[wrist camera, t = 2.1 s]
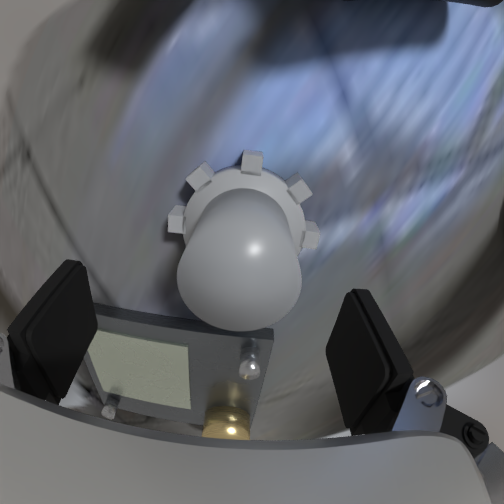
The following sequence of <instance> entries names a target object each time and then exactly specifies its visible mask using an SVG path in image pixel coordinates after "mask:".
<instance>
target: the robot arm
mask: <svg viewBox="0 0 504 504" xmlns="http://www.w3.org/2000/svg"><path fill="white" fill-rule="evenodd" d="M97 329H98V322H97V318H96V314H95V309H94V305H93V300H92V296H91V291H90V286H89V281H88V276H87V270H86V267H85V266H83V264H82V263H81V262H80V261H75V260H65V261H64V262H63V263H62V264H61V265H60V267H59V268H58V269H57V270H56V271H55V272H54V273H53V274H52V275H51V276H50V278H49V279H48V280H47V281H46V282H45V283H44V284H43V285H42V287H41V288H40V289H39V290H38V291H37V292H36V294H35V295H34V296H33V297H32V298H31V300H30V301H29V302H28V303H27V304H26V306H25V307H24V308H23V309H22V311H21V312H20V313H19V314H18V316H17V317H16V318H15V320H14V321H13V322H12V323H11V325H10V326H9V327H8V329H7V330H8V332H9V335H8V337H7V338H6V336H5V335H4V334H2V333H0V504H504V452H503V451H502V450H501V449H499V447H497V446H496V445H495V444H494V443H493V442H491V443H490V444H489V436H488V432H487V430H486V428H485V427H484V426H483V425H482V424H481V423H480V422H478V421H477V420H475V419H473V418H471V417H469V416H467V415H465V414H463V413H462V412H460V411H458V410H456V409H454V408H452V407H450V406H449V405H447V404H446V403H447V395H446V392H445V390H444V388H443V387H442V386H441V385H440V384H439V383H438V382H437V381H435V380H434V379H432V378H429V377H418V378H416V379H415V378H414V376H413V370H412V368H411V366H410V364H409V362H408V360H407V358H406V356H405V354H404V352H403V350H402V348H401V347H400V345H399V343H398V341H397V339H396V337H395V335H394V334H393V332H392V330H391V328H390V326H389V325H388V323H387V321H386V319H385V317H384V316H383V314H382V312H381V310H380V309H379V307H378V305H377V303H376V302H375V300H374V298H373V297H372V295H371V293H370V291H369V290H367V289H352V290H351V292H348V293H347V294H346V295H345V298H344V301H343V304H342V306H341V309H340V312H339V315H338V317H337V320H336V323H335V325H334V328H333V331H332V333H331V336H330V338H329V341H328V343H327V346H326V357H327V360H328V364H329V367H330V371H331V375H332V378H333V382H334V385H335V389H336V393H337V397H338V400H339V404H340V408H341V412H342V416H343V419H344V423H345V426H346V428H350V432H351V435H352V436H350V437H349V436H348V437H338V438H325V439H310V440H282V441H264V440H235V439H220V438H208V437H198V436H190V435H182V434H175V433H168V432H162V431H156V430H151V429H145V428H140V427H136V426H131V425H126V424H122V423H118V422H113V421H109V420H105V419H102V418H98V417H94V416H91V415H87V414H84V413H81V412H77V411H74V410H71V409H68V408H65V407H62V406H59V403H60V400H61V398H62V399H63V398H64V397H65V396H66V394H67V392H68V390H69V388H70V385H71V383H72V381H73V379H74V377H75V375H76V372H77V370H78V368H79V366H80V364H81V362H82V360H83V358H84V356H85V354H86V352H87V350H88V348H89V346H90V344H91V342H92V340H93V338H94V336H95V334H96V332H97ZM45 400H46V401H45ZM362 434H365V435H362ZM354 435H358V436H354Z"/></svg>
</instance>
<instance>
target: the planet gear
mask: <svg viewBox="0 0 504 504" xmlns="http://www.w3.org/2000/svg"><path fill="white" fill-rule="evenodd" d="M262 164H263V152H258V151H250V150H244V152H243V157H242V165H235V166H230V167H226V168H224V169H221V170H219V171H217V172H214V171H213V170H212V169H211V167H210V166H209V165H208V164H207V163H206V162H203V163H202V164H201V165H200V166H199V167H197V168H196V169H195V170H194V171H193V172H191V173H190V175H189V176H188V177H187V178H186V181H187V182H188V183H189V184H190V185H191V186H192V187H193V189H194V190H195V192H194V194H193V195H192V197H191V199H190V200H189V202H188V204H187V206H178V205H175V207H174V208H173V209H172V211H171V212H170V213H169V215H168V232H173V233H182V234H183V237H184V241H185V245H186V248H185V251H184V253H183V255H182V257H181V260H180V262H179V265H178V269H177V285H178V289H179V292H180V295H181V297H182V299H183V301H184V303H185V304H186V305H187V307H188V308H189V309H190V310H191V311H192V312H193V313H194V314H195V315H196V316H197V317H199V318H200V319H201V320H203V321H205V322H206V323H208V324H210V325H212V326H215V327H218V328H221V329H225V330H230V331H252V330H257V329H262V328H264V327H267V326H270V325H272V324H274V323H276V322H277V321H279V320H280V319H282V318H283V317H284V316H285V315H287V313H288V312H289V311H290V310H291V309H292V308H293V306H294V305H295V303H296V301H297V299H298V297H299V294H300V291H301V286H302V276H301V270H300V266H299V262H298V258H297V256H298V254H299V252H300V250H301V248H310V249H317V245H318V241H319V237H320V231H319V229H318V227H317V225H316V223H315V222H313V221H305V218H304V214H303V211H302V208H301V206H300V203H301V202H303V201H304V200H306V199H307V198H309V197H310V196H311V195H313V194H312V192H311V191H310V189H309V188H308V186H307V185H306V183H305V182H304V181H303V179H302V178H301V177H300V175H299V174H298V172H297V173H296V174H294V175H293V176H292V177H290V178H289V179H287V180H286V181H285V180H283V179H282V178H281V177H280V176H278V175H277V174H275V173H274V172H272V171H270V170H268V169H265V168H262Z"/></svg>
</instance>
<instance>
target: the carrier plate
mask: <svg viewBox="0 0 504 504" xmlns="http://www.w3.org/2000/svg"><path fill="white" fill-rule="evenodd" d="M93 305H94V309H95V314H96V318H97V322H98V329H97V332H96V334H95V336H94V338H93V340H92V342H91V344H90V346H89V348H88V350H87V352H86V354H85V356H84V360H85V362H86V365H87V367H88V370H89V372H90V375H91V377H92V380H93V382H94V384H95V386H96V389H97V391H98V393H99V395H100V397H101V400H102V402H103V404H104V407H103V410H102V412H101V414H102V415H103V416H104V417H106V418H108V419H114V417H115V414H116V411H117V408H118V409H122V410H126V411H129V412H134V413H138V414H142V415H147V416H151V417H156V418H161V419H166V420H172V421H178V422H184V423H190V424H197V425H203V431H202V437H208V438H220V439H235V440H250V428H251V425H252V421H253V418H254V414H255V410H256V407H257V403H258V400H259V396H260V392H261V389H262V385H263V381H264V377H265V374H266V370H267V366H268V362H269V358H270V354H271V350H272V346H273V343H274V332H273V329H270V328H262V329H257V330H252V331H230V330H225V329H221V328H218V327H215V326H212V325H210V324H208V323H206V322H205V321H197V320H190V319H183V318H176V317H169V316H163V315H157V314H150V313H145V312H139V311H133V310H128V309H122V308H117V307H112V306H106V305H101V304H97V303H93Z"/></svg>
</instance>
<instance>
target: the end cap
mask: <svg viewBox="0 0 504 504" xmlns="http://www.w3.org/2000/svg"><path fill="white" fill-rule="evenodd" d="M344 1H351V0H344ZM439 1H448V2H456V3H463V4H470V5H475V6H481V7H493V6H495V5H498V4H499V3H501V2H502V1H503V0H439Z"/></svg>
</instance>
